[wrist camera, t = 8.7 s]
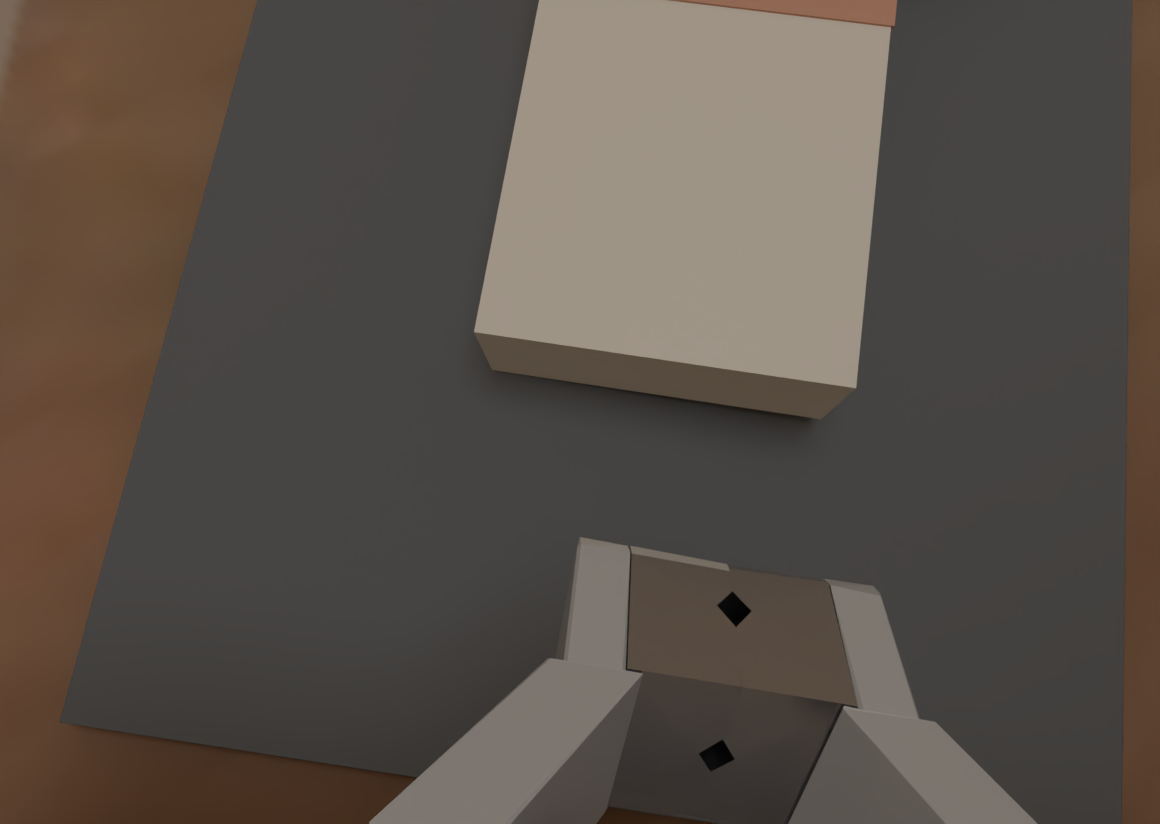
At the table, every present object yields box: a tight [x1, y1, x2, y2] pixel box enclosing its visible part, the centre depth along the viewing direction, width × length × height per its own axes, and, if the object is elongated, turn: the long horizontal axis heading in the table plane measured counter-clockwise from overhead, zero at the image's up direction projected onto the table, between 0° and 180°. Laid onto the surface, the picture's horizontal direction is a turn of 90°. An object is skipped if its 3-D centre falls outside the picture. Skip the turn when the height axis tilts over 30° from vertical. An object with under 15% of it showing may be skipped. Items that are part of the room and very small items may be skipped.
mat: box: [60, 0, 1132, 824], centre depth 18 cm, size 19×22×1 cm
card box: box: [474, 0, 897, 419], centre depth 17 cm, size 6×2×12 cm
